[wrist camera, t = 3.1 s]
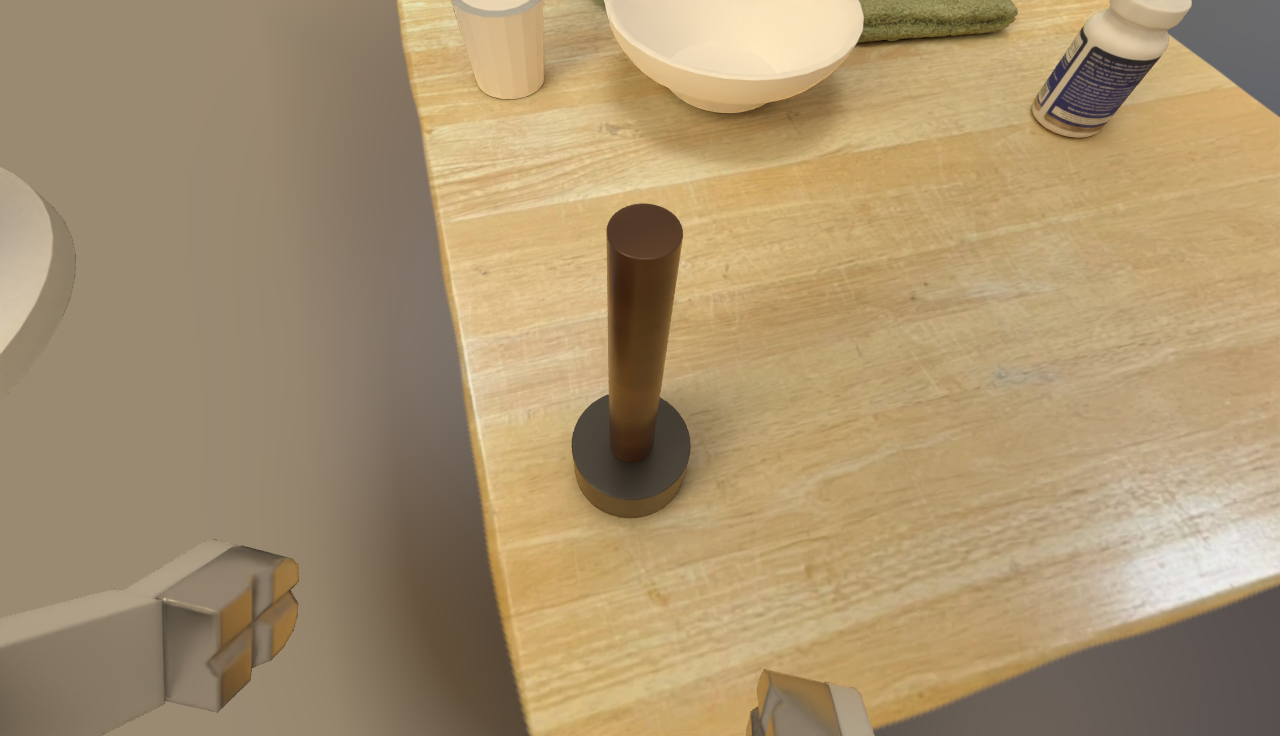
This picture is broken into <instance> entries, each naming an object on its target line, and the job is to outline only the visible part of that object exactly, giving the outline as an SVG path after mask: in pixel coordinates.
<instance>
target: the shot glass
mask: <svg viewBox="0 0 1280 736" xmlns="http://www.w3.org/2000/svg"><path fill="white" fill-rule="evenodd" d="M451 2H452V5H453V9H454V12H455V15H456V18H457V21H458V24H459V28H460V31H461V34H462V37H463V40H464V44H465V47H466V50H467V53H468V56H469V59H470V63H471V66H472V69H473V72H474V75H475V78H476V82H477V84H478V86H479V87H480V89H481V90H482V91H483V92H485V93H486V94H488V95H489V96H492V97H496V98H500V99H518V98H522V97H526V96H529V95H531V94H532V93H534V92H536V91H537V90H539V88H540V87H541V86H542V84H543V83H544V36H543V0H451Z"/></svg>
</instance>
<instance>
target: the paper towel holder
mask: <svg viewBox="0 0 1280 736" xmlns="http://www.w3.org/2000/svg"><path fill="white" fill-rule="evenodd" d="M682 239H683V229H682V226H681V224H680V222H679V220H678V219H677V217H676V216H675V215H674V214H672V213H671V212H670V211H668V210H667V209H665V208H662V207H660V206H657V205H652V204H634V205H630V206H627V207H625V208H622V209H621V210H619V211H618V212H616V213H615V214H614V215H613V216H612V218H611V219H610V221H609V223H608V225H607V295H608V367H609V395H606V396H604V397H602V398H600V399H598V400H597V401H595V402H594V403H592V404H591V405H590V406H589V407H588V408H587V409H586V410H585V411H584V412H583V414H582V415H581V416H580V418H579V420H578V422H577V424H576V426H575V429H574V432H573V437H572V454H573V460H574V467H575V473H576V478H577V482H578V484H579V487H580V489H581V490H582V492H583V494H584V495H585V496H586V498H587V499H588V500H589V501H590V502H591V503H592V504H593V505H594V506H596V507H597V508H598V509H600V510H602V511H604V512H605V513H608V514H610V515H613V516H617V517H623V518H637V517H643V516H647V515H650V514H652V513H655V512H657V511H658V510H660V509H662V508H663V507H664V506H666V505H667V504H668V503H669V502H670V501H671V500H672V499H673V498H674V496H675V495H676V493H677V492H678V490H679V488H680V486H681V483H682V481H683V477H684V474H685V470H686V467H687V463H688V460H689V455H690V437H689V432H688V429H687V427H686V424H685V422H684V420H683V419H682V417H681V416H680V414H679V413H678V412H677V411H676V410H675V409H674V407H672V406H671V405H670V404H669V403H668V402H666V401H665V400H663V399H661V398H660V392H661V385H662V378H663V371H664V364H665V357H666V350H667V343H668V336H669V329H670V322H671V315H672V308H673V301H674V294H675V287H676V281H677V274H678V267H679V260H680V253H681V246H682Z"/></svg>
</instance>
